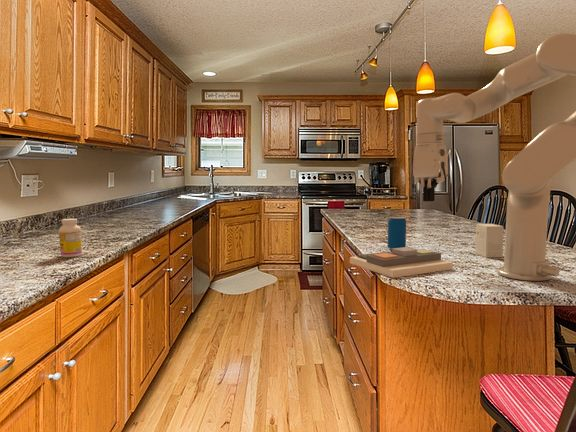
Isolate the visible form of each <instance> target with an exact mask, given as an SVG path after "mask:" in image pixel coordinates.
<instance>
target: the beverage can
mask: <svg viewBox="0 0 576 432" xmlns="http://www.w3.org/2000/svg"><path fill="white" fill-rule="evenodd" d="M406 238H407V219H406V217H405V216H389V219H388V220H387V248H388V249H389V250H390V251H392V249H393V248H402V247H406V246H407V239H406ZM406 248H407V247H406Z"/></svg>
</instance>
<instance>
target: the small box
mask: <svg viewBox="0 0 576 432" xmlns="http://www.w3.org/2000/svg"><path fill="white" fill-rule="evenodd" d="M475 226H476V227H475V254H476V255H479V256H482V257H484V258H486V259H487V258H488V259H489V258H503V257H504V253H503V251H504V230H505V229H504V228H505V227H504V225H499V224H496V223H495V224H494V223H476V225H475Z"/></svg>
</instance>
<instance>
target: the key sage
mask: <svg viewBox="0 0 576 432" xmlns="http://www.w3.org/2000/svg"><path fill="white" fill-rule="evenodd" d="M416 250H417V254H422V255H423V254H431V253H435V252H436V251H433V250H429V249H424V248H420V249H416Z"/></svg>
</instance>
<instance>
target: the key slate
mask: <svg viewBox="0 0 576 432" xmlns="http://www.w3.org/2000/svg"><path fill="white" fill-rule="evenodd" d="M417 250H418V249H414V248H410V247H402V248H393V249H392V250H391V251H392V254H395V255H399V256H402V257H406V256H414V255H417Z"/></svg>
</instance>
